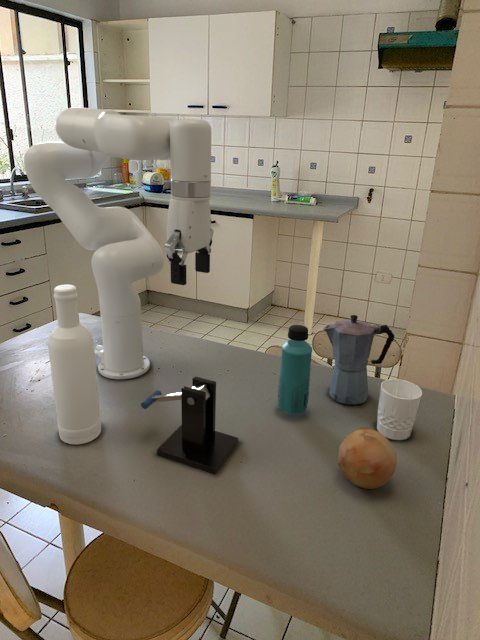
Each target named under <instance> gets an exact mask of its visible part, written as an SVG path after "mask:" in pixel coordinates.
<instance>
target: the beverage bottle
mask: <svg viewBox="0 0 480 640" xmlns="http://www.w3.org/2000/svg"><path fill="white" fill-rule="evenodd" d="M287 338H288V340H287V341H285V342H284V343H283V344H282V345H281V358H280V369H279V377H278V378H279V379H278V380H279V382H278V391H277V397H278V398H277V405H278V408H279V409H280V410H281V411H283V413H285V414H289V415H299V414H300V415H301V414H303V413H304V412H306V410H307V409H308V404H309V398H310V397H309V396H310V382H311V371H312V368H311V367H312V355H313V354H312V353H313V347H312V345H311V344H310V343H309V342H308V341H307V340H308V339H309V328H308V327H307V326H306V325H302V324H293V325H291V326H288V332H287Z"/></svg>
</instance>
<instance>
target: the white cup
mask: <svg viewBox="0 0 480 640" xmlns="http://www.w3.org/2000/svg"><path fill="white" fill-rule="evenodd" d="M422 396H423V390H422V388H420V386H419V385H417V384H416V383H413V382H411V381H408V380H405V379H401V378H389V379H385V380H383V381H382V382H381V383H380V388H379V396H378V397H379V398H378V406H377V416H376V417H377V421H376V431H378V432H379V433H381V434H382V435H384V436H385V437H386V438H387V439H388V440H389V439H390V440H392V441H404V440H407V439H409V438H410V437H411V434H412V430H413V427H414V424H415V422H416V418H417V415H418V411H419V408H420V404H421V400H422Z"/></svg>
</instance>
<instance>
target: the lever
mask: <svg viewBox="0 0 480 640" xmlns="http://www.w3.org/2000/svg"><path fill="white" fill-rule="evenodd" d="M191 388H193V389H197V390H200V391H204V392H206V400H207V399H208V398H209V397H210V394H209V392H208V389H207V386H206V384H205V385H197V386H193V387H192V386H191ZM179 400H180V401H181V391H180V392H173V393H172V392H171V393H165V394H163V393H162V391H161V390H159V389H156V391H154V392H153V393H152V394H151V395H149V396H148V397H146V398H145V399H144V400H143V401H142V402H141V403H140V407H141V408H142V409H143V410H148V409H149V407H150V406H151V405H153V404H154V403H155V404H156V403H162V402H172V401H179Z"/></svg>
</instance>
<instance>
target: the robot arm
mask: <svg viewBox="0 0 480 640" xmlns="http://www.w3.org/2000/svg"><path fill="white" fill-rule="evenodd" d="M54 123H55V125H54V127H55V132H56V134H57V136H58V137H59V139H60V140H61V141H44V142H43V141H42V142H39V143H38V142H37V143H36V144H35V143H34V144H33V145H31V146H30V147H29V148H28V149H27V150H26V151H25V153H24V158H23V163H24V164H23V165H24V170H25V171H24V172H25V174H26V177H27V180H28V182H29V184H30V186H31V187H32V189H33V191H34V192H35V193H36V194H37V196H38V197H39V198H40V199H41V200H42V202H44V203H45V204H46V205H47V206H48V207H49V208H50V209H52V211H53V212H54V213H55V214H56V215H57V217H58V218H59V219H60V221H61V222H62V223H63V225H64V226H65V227H66V229H67V230H68V231H69V233H70V234H71V235H72V237H73V238H74V239H75V241H76V242H77V243H78V244H79V245H80V246H81V247H82V248H83V249H85V250H87V251H95V252H94V253H93V255H92V257H91V262H90V263H91V264H90V265H91V269H92V274H93V278H94V280H95V281H94V282H95V284H96V289H97V295H98V303H99V315H100V326H101V327H100V328H101V337H102V344H101V345H100V344H96V345H95V346H94V352H95V357H98V358H100V362H99V363H98V365H97V369H98V374H100V375H101V376H103V377H104V378H106V379H107V378H108V379H111V380H129V379H135V378H137V377H141V376H142V375H144V374H146V373H147V372H148V371H149V369H151V368H150V367H151V362H150V359H149V358H148V357H147V356H145V355H144V344H143V343H144V341H143V340H144V339H143V319H142V304H141V303H142V302H141V298H140V295H139V293H138V292H137V291H136V289H135V288H134V287H133V283H135V282H136V281H139V280H143V279H147V278H150V277H153V276H155V275H157V274H159V273H160V272H162V270H163V268H164V265H165V255H164V252H163V249H162V247H161V245H160V244H159V243H158V241H157V239H155V237H154V236H153V234H152V233H151V232H150V231H149V230H148V229H147V227H146V226H145V224H144V223H142V221H141V220H140V218H139V217H138V216H137V215H136V214H135V213H134V212H133V211H132V210H130V209H129V208H127V207H124V206H109V207H108V206H107V207H102V206H98V205H96V204H95V203H94V202H93V200H92V199H91V198H90V196H89V195H88V193H86V192H85V191H84V190H83V189H81V188H80V187H79V186H77V185H75V184H73V183H71V182H70V181H68V180H79V179H80V180H81V179H90V178H93V177H95V176H97V175H98V174H99V173H100V172H101V171H102V170H103V168H104V167H105V165H106V164H107V162H108V161H109V160H110V159H111V158H117V159H123V160H129V161H154V160H155V161H156V160H159V161H168V160H169V167H170V168H169V169H170V173H169V174H170V199H169V205H168V210H167V222H166V242H165V243H164V250H165V253H166V258H167V259H168V264H169V265H170V283H171V284H174V285H179V286H186V285H187V264H185V263H186V260H187V257H188V254H192V253H194V252H195V253H194V270H195V272H198V273H202V274H203V273H204V274H208V273H209V274H210V272H211V253H212V248H211V247H212V244H213V236H214V229H213V228H212V217H211V216H212V214H211V202H210V200H211V199H212V196H211V195H212V135H213V133H212V126H211V124H210V122H209V121H207V120H204V119H195V118H172V117H160V116H149V115H130V114H120V112H118V111H117V110H116V111H115V110H113V109H103V108H90V107H80V106H79V107H78V106H74V107H69V108H66V109H64V110H62V111H61V112H59V114H58V115H57V117H56V119H55V122H54ZM179 254H181V255H179Z"/></svg>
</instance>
